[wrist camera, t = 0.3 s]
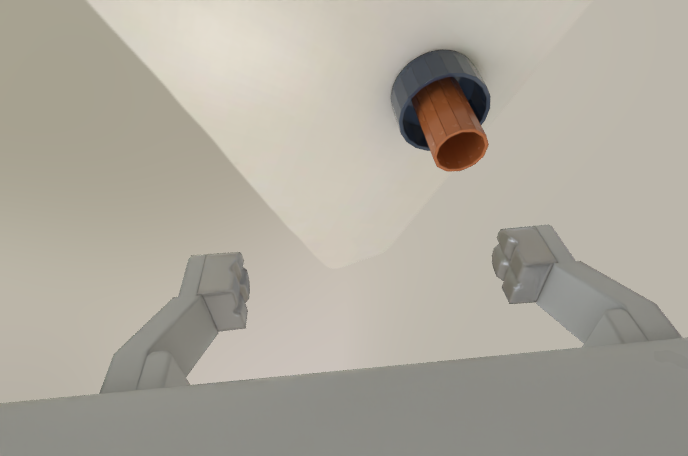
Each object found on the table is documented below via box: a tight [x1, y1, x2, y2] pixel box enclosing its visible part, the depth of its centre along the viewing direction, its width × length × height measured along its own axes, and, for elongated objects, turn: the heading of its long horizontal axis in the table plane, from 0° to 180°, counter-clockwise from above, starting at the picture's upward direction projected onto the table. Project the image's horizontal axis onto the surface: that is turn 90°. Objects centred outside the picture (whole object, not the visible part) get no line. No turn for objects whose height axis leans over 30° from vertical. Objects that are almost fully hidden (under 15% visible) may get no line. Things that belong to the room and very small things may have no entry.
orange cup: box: [412, 77, 488, 171], centre depth 53 cm, size 6×6×12 cm
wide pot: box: [391, 50, 490, 151], centre depth 55 cm, size 12×12×6 cm
